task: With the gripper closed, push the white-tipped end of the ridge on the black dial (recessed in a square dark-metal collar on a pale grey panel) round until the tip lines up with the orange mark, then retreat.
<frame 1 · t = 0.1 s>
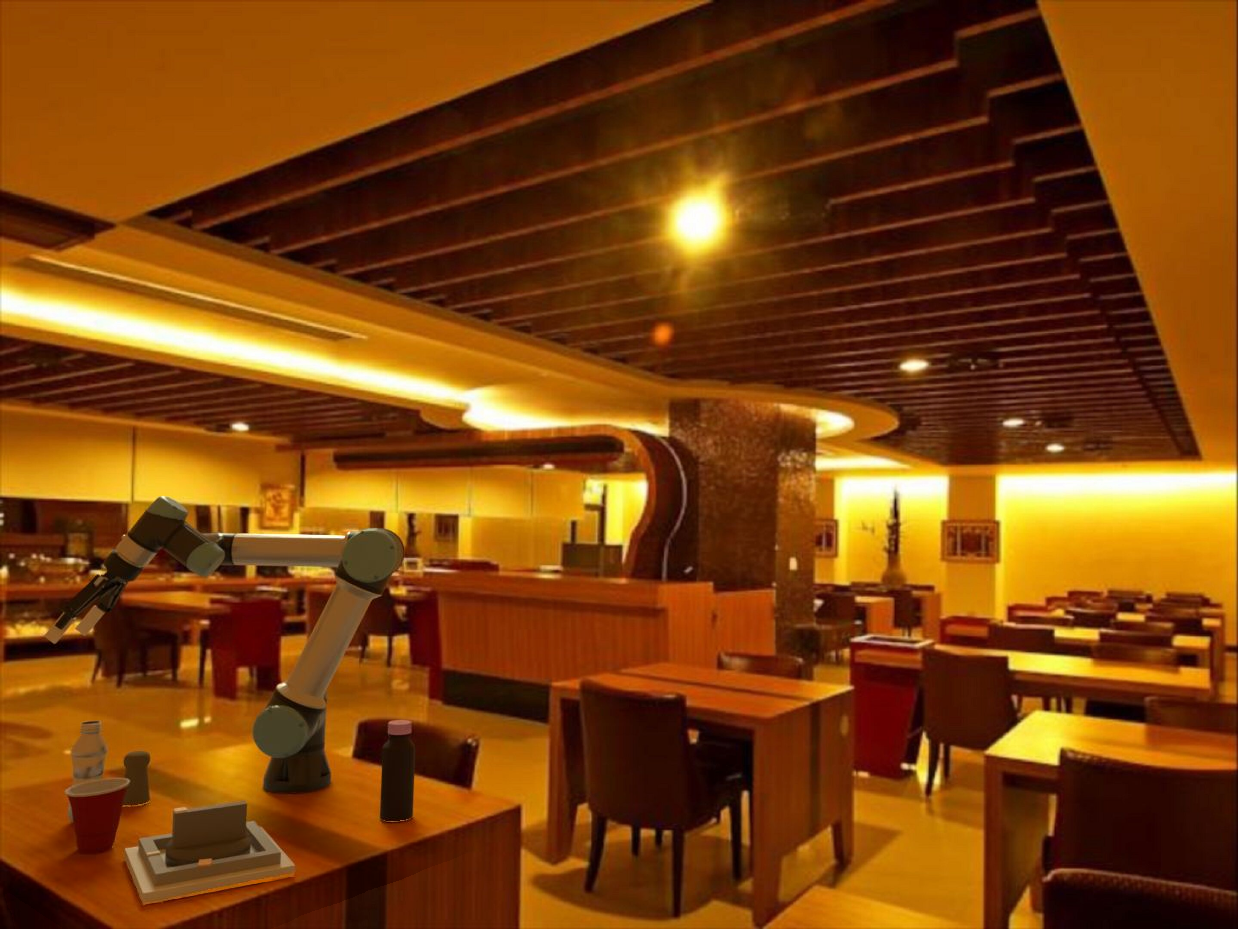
hand: (65, 636, 203), 36 cm above the table, tool tilted 35°, fingers open, 13 cm apart
dial: (209, 830, 167), point 7 cm above the table, hinge at 0.0°
panel: (207, 868, 166), on the table
plastic cup: (94, 849, 175), on the table
cork: (134, 804, 202), on the table
plastic bottle: (85, 823, 189), on the table
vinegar: (396, 819, 196), on the table
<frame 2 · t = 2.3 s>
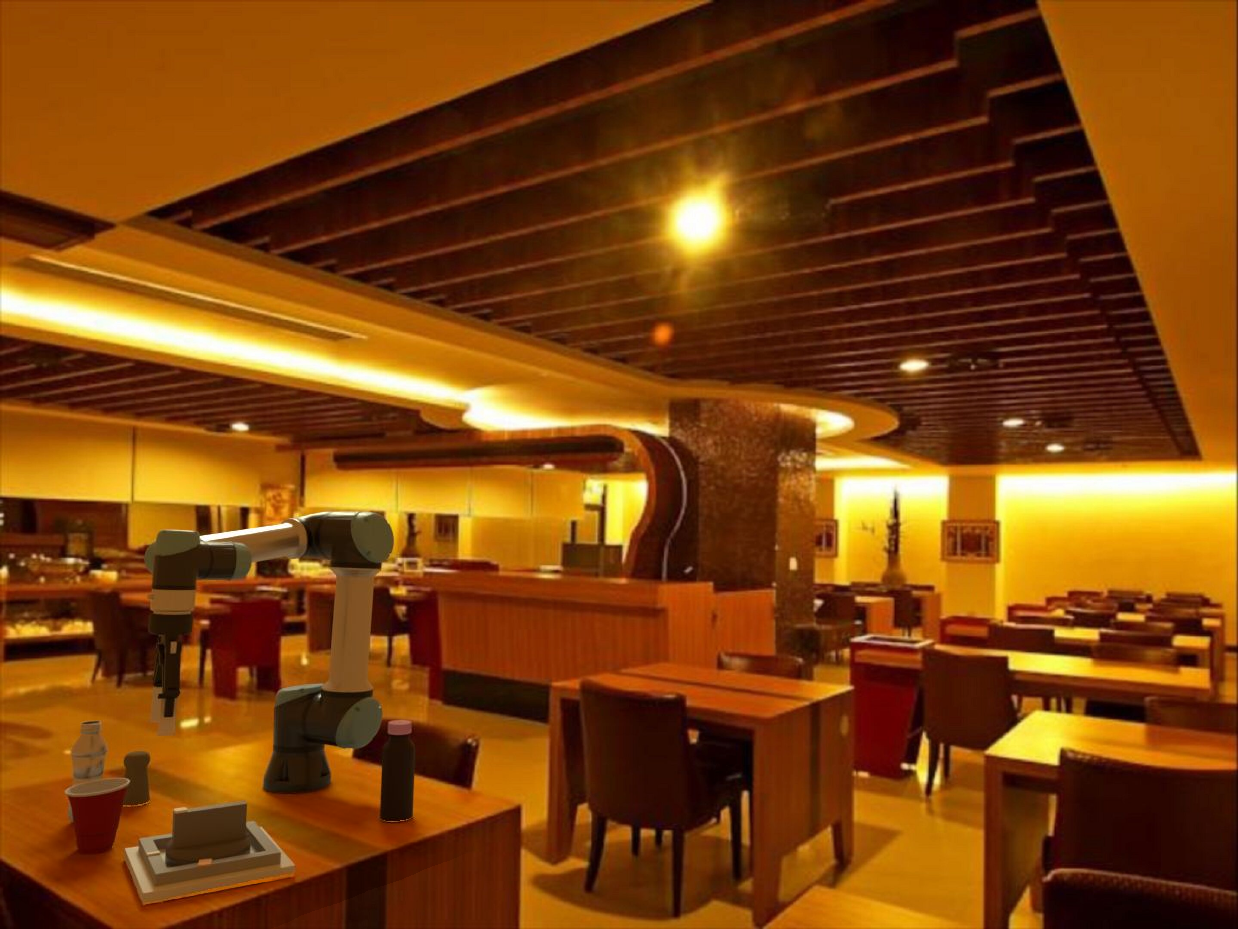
hand: (162, 728, 172), 24 cm above the table, tool pointing down, fingers open, 13 cm apart
nothing on the table moved.
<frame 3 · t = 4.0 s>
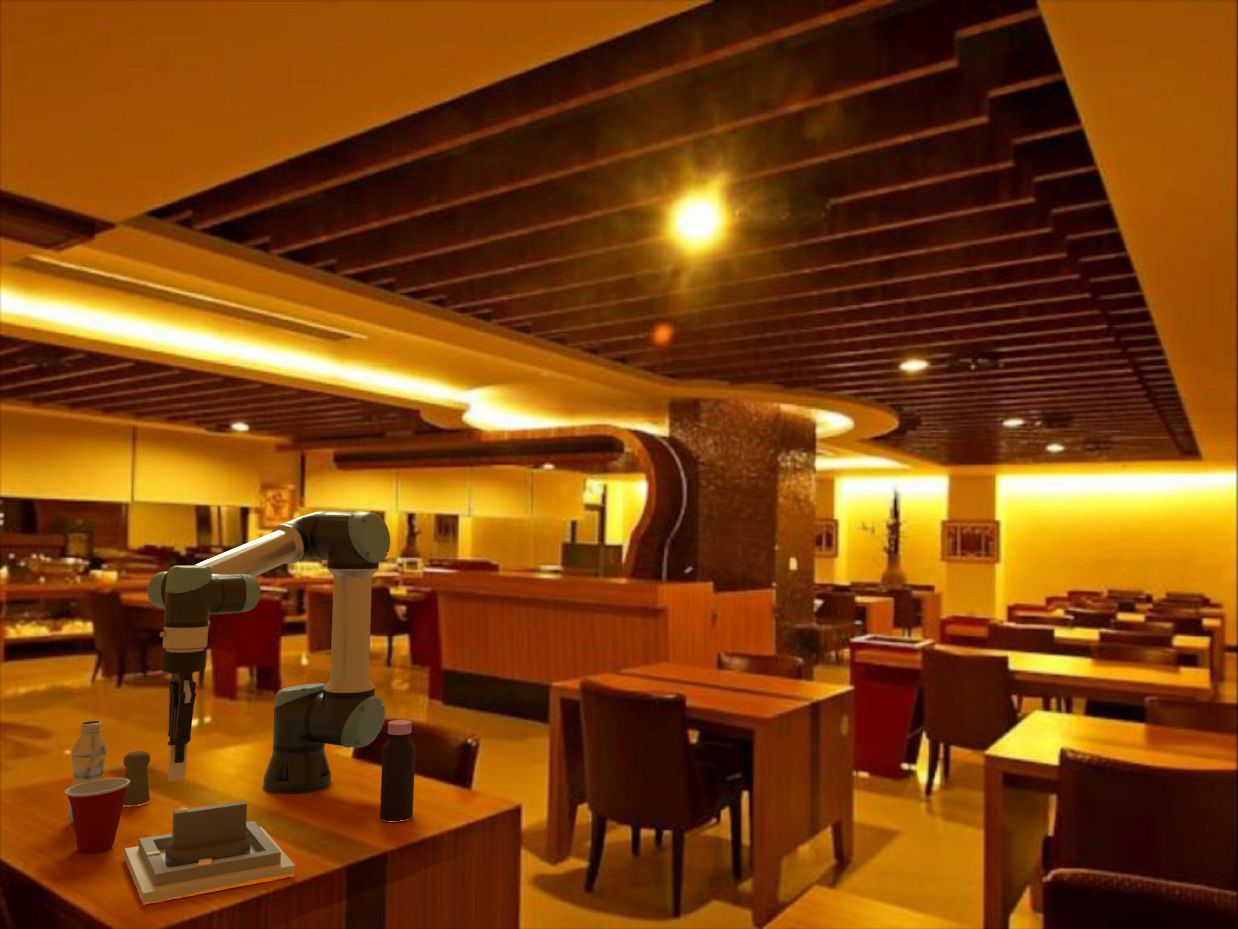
hand: (176, 779, 170), 15 cm above the table, tool pointing down, fingers closed
nothing on the table moved.
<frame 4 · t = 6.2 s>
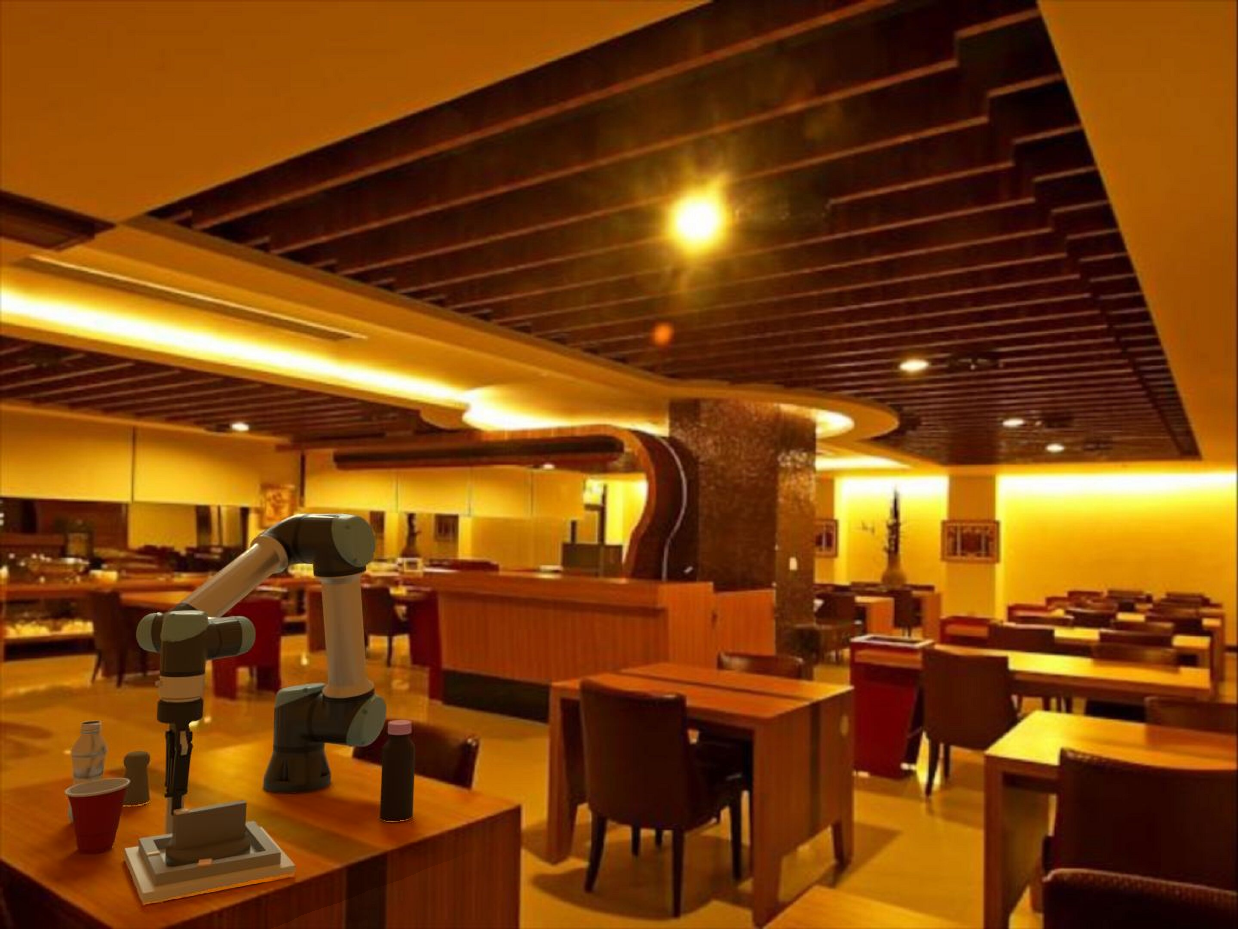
hand: (173, 831, 166), 7 cm above the table, tool pointing down, fingers closed
dial: (209, 830, 167), point 7 cm above the table, hinge at 7.2°, touching gripper
everything else where it was.
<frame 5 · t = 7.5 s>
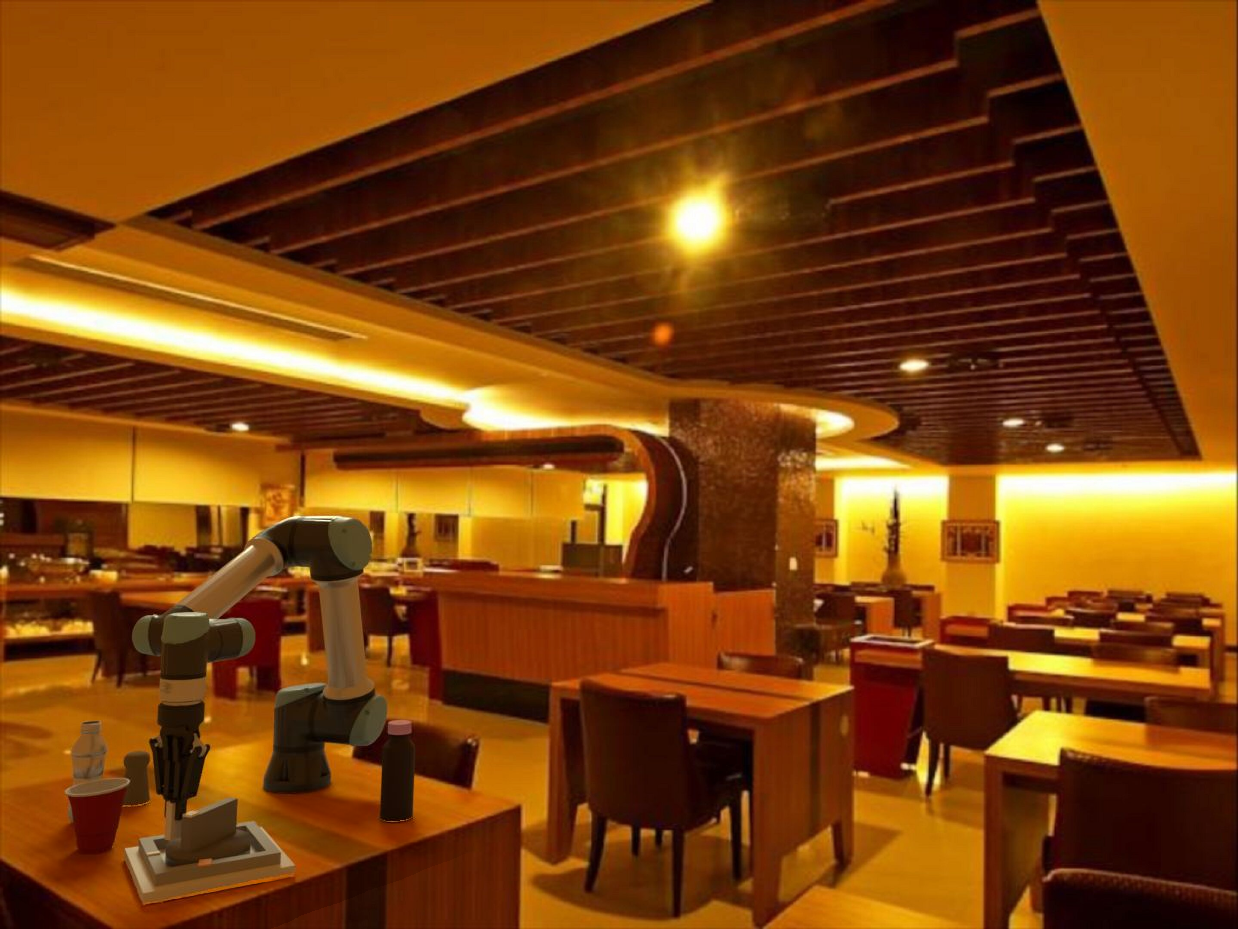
hand: (173, 837, 163), 7 cm above the table, tool pointing down, fingers closed
dial: (209, 830, 167), point 7 cm above the table, hinge at 39.9°, touching gripper
everything else where it was.
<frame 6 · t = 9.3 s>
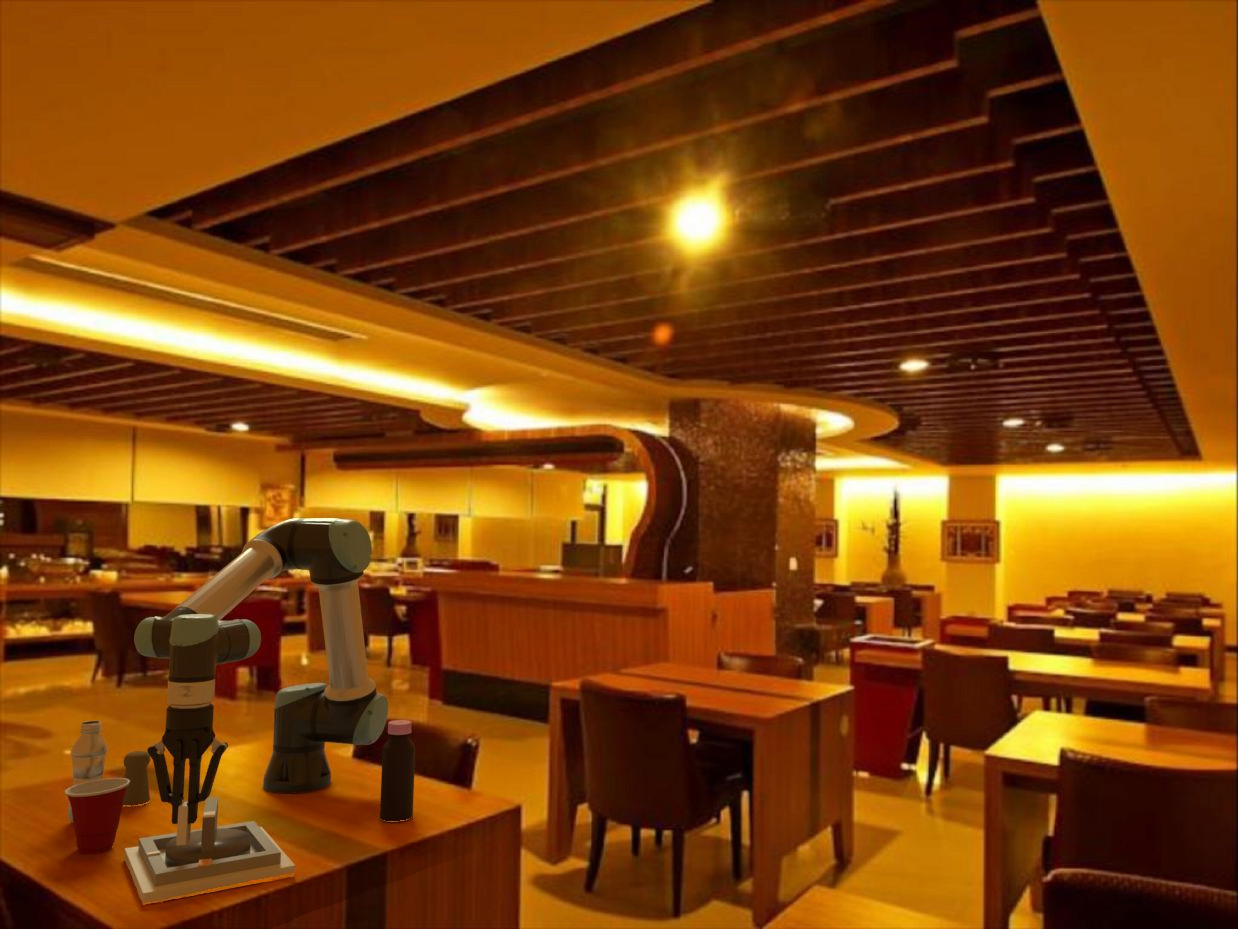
hand: (183, 842, 161), 7 cm above the table, tool pointing down, fingers closed
dial: (209, 830, 167), point 7 cm above the table, hinge at 76.5°
everything else where it was.
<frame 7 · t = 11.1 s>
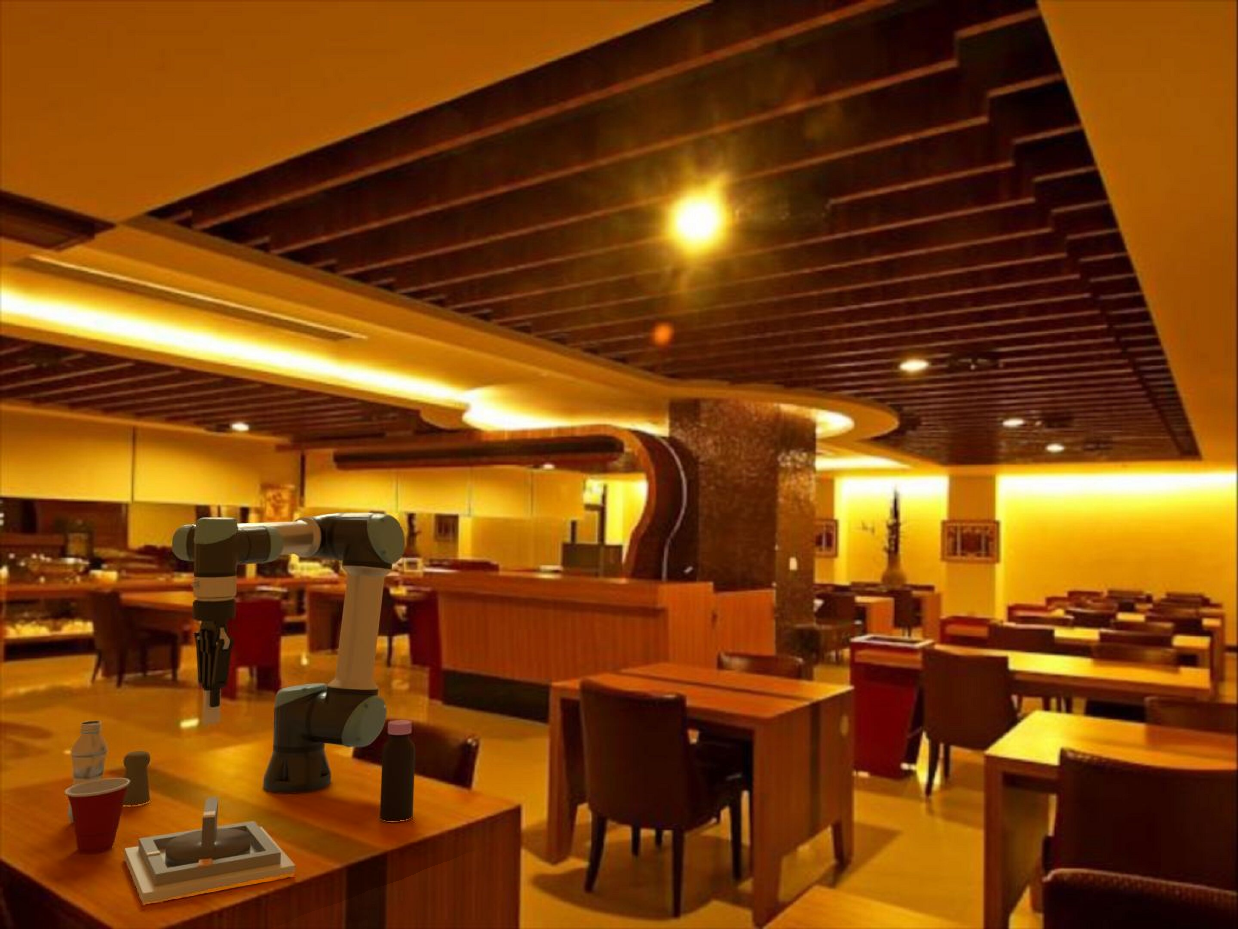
hand: (211, 723, 176), 24 cm above the table, tool pointing down, fingers closed
nothing on the table moved.
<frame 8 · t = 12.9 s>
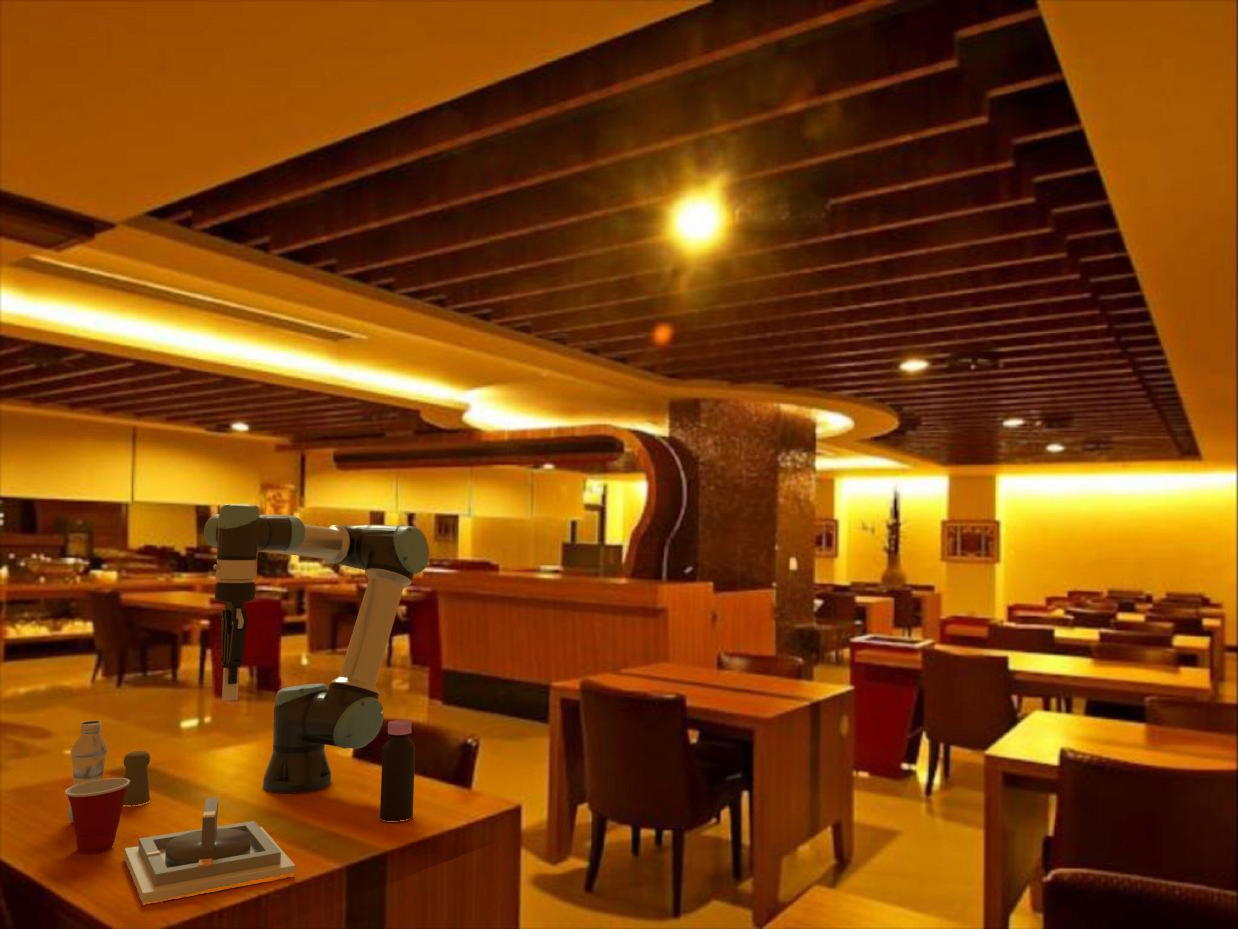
hand: (229, 699, 185), 26 cm above the table, tool pointing down, fingers closed
nothing on the table moved.
at the end: dial at +76° (first picture: +0°) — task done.
